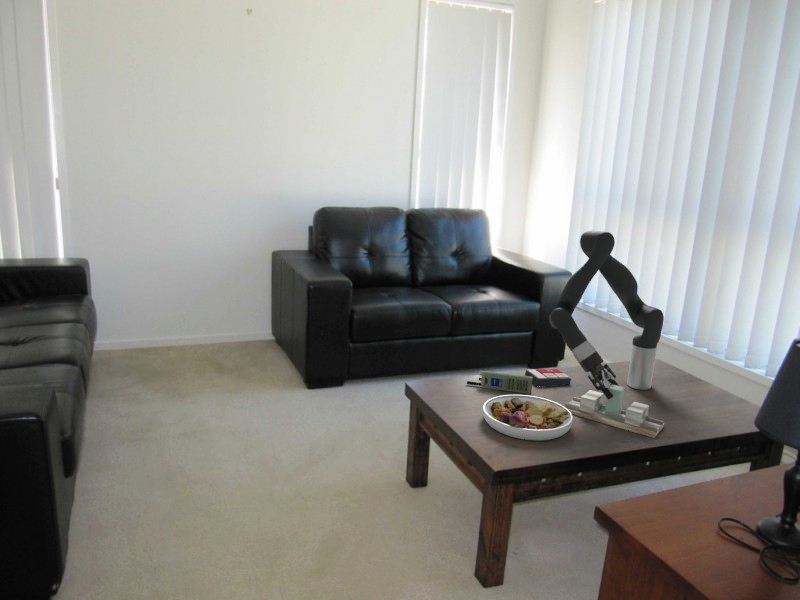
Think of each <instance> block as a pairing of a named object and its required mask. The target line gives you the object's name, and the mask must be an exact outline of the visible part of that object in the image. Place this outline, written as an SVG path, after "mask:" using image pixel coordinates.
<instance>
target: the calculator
mask: <svg viewBox="0 0 800 600" xmlns="http://www.w3.org/2000/svg"><path fill="white" fill-rule="evenodd" d="M524 376H530V377H533V380H532V383H533V384H532V385H534V386H535V387H536V386H538V387H537V388H540V387H539V386H546V387H548V386H549V387H553V386H552V385H561V386H564V385H563V384H570V385H571V381H572V378H570V375H567V374H565V373H564V372H562V370H560V369H558V368H537V369H533V368H532V369H528V368H527V369H526V370H525V371H524Z"/></svg>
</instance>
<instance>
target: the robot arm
mask: <svg viewBox="0 0 800 600" xmlns="http://www.w3.org/2000/svg"><path fill="white" fill-rule="evenodd" d="M579 244H580V245H579V246H580V248H581V250H582V252H583V253H584V254H585V256H586V257H587V258H588V259H587V261H586V262H585V263H584V264H583V265H582V266H581V267H580V268H579V269H578V270H577V271H575V273H573V274H572V276H570V278H569V279H568V281H567V282H566V284H565V285H564V288H563V290H562V292H561V293H560V295H559V299H558V301H557V303H556V305H555V307H554V308H553V309H552V311H551V312H550V315H549V316H548V317H549V318H548V323H549V324H550V326H551V327H552V328H553V329H554V330H555V329H556V330H557V331H558V332H559V334H560V335H561V336H562V339H563V342H564V343H565V345H566V346H567V348H568V349H569V350H570V351H571V353H572V355H573V357H574V359H575V360H576V361H577V363H578V364H579V366H580V367H581V368H582V370H583V371H584V372H585V373H589V372H590V374H589V375H588V376H587V378H588V379H589V381H590V383H591V384H592V385H593V387H594V388H595V390H596V392H599V391H600V392H601V393H604V395H603V396H605V398H607V399H611V398H612V397H613V394H612V393H611V392H610V390H609V389H608V387H609V386H610V385H612V384H613V385H617V386H620V385H619V383H618V382H617V381H616V380H617V379H616V378H617V376H616V374H615V373H614V371H613V370H612V369H611V368H610V367H609V365H608V364H607V363H605V364H604V365H602V364H603V363H604V360H603V358H602V356H601V355H600V354H599V352H598V351H597V350H596V348H595V347H594V346H593V344H592V343H591V342H590V341H589V340H588V339H587V337H586V336H585V334H583V332H582V331H581V329H580V328H579V327H578V324H577V323H576V320H575V319H574V318H573V316H572V315H573V313H574V311H575V309H576V307H577V306H578V305H579V303H580V301H581V299H582V297H583V296H584V293H585V292H586V290H587V287H588V286H589V284H590V283H591V282H592V280H593V278H594V277H595V276H596V275H597V273H598V272H600V274H601V276H602V277H603V278H604V279H605V281H606V283H607V284H608V286H609V287H610V289H612V291H613V292H614V294H615V295H616V297H617V298H618V299H619V301H620V302H621V303H622V305H623V307H624V308H625V310H626V313H627V314H628V316H629V318H630V320H631V322H632V323H633V324H634V325H635V326H636V327H638V328H641V329H642V333H641V335H636V336H634V337H633V338H632V344H631V352H630V359H629V367H628V373H627V380H626V385H627V386H628V387H630V388H633V389H635V390H642V391H643V390H644V391H645V390H646V391H647V390H650V389H651V387H652V381H653V375H654V369H655V362H656V355H657V350H658V349H657V348H658V343H659V342H660V339H661V336H662V331H663V326H664V321H665V320H664V317H665V316H664V312H663V311H662V310H661V309H659V308H657V307H654V306H651V305H648V304H646V303H645V302H644V301H643V299H642V298H641V297H640V296H639V294H638V288H639V286H638V285H639V284H638V281H637V279H636V277H635V276H634V275H633V273H632V272H631V271H630V269H629V268H628V267H627V266H626V265H625V264H624V263H622V262H620V261H619V260H618V259H617V258H615V257H613V256H612V255H611V254H612V252H613V251H614V248H615V244H616V241H615V237H614V235H613V234H612V233H611V232H610V231H604V230H586V231H585V232H583V233H582V234H581V236H580V239H579ZM606 382H607V383H609V384H610V385H609V386H608V387H607V383H606Z"/></svg>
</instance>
